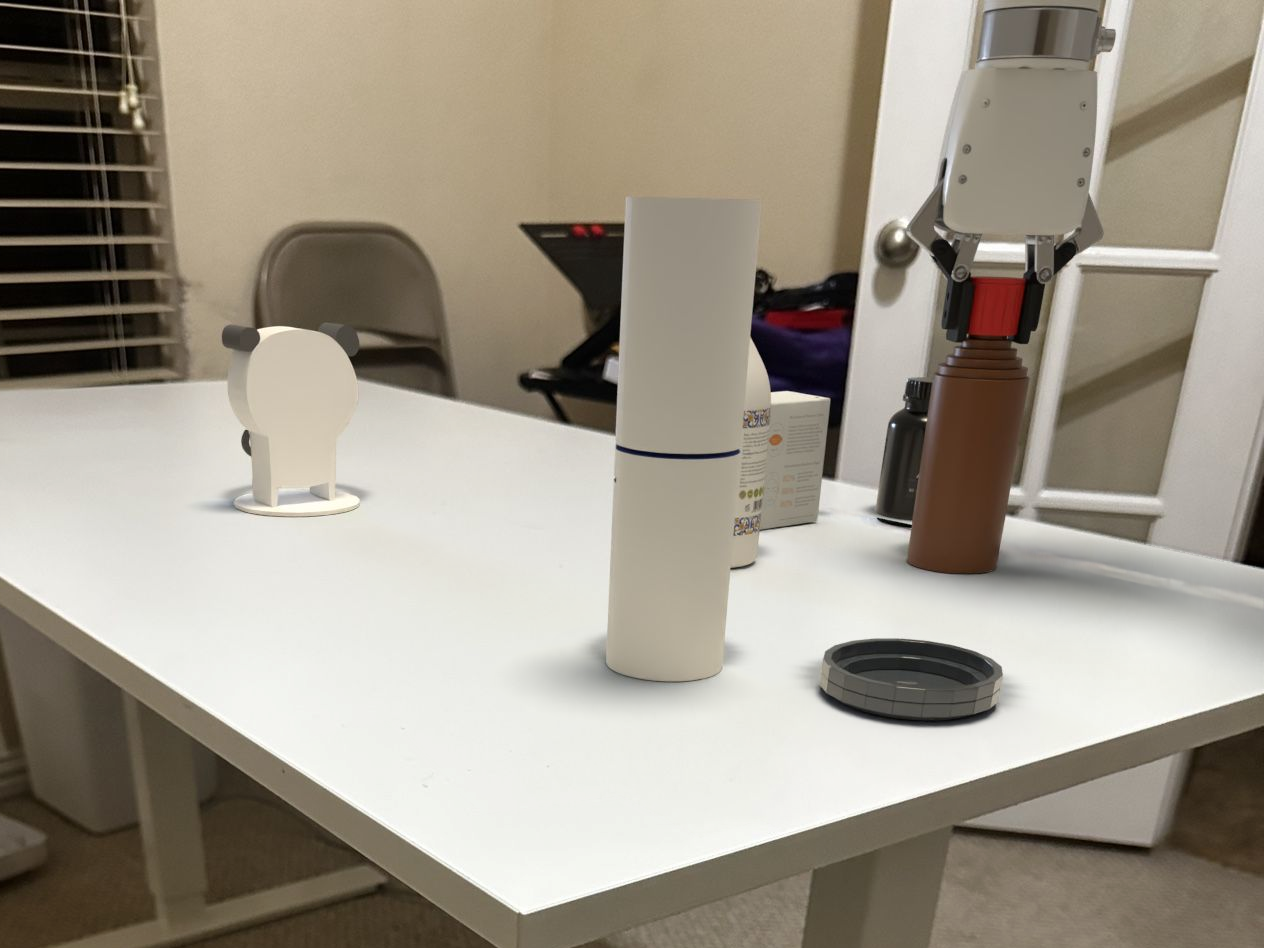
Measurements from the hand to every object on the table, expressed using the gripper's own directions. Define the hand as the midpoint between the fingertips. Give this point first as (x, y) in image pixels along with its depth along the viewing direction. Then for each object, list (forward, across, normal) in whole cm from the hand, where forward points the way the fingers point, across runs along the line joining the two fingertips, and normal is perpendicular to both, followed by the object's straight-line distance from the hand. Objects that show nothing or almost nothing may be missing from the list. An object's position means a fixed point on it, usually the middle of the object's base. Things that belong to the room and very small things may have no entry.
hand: (986, 338), depth 102 cm
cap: (0, 0, 0) cm, 0 cm away
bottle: (+16, 0, 0) cm, 16 cm away
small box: (+17, +13, -15) cm, 26 cm away
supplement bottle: (+17, -1, -16) cm, 23 cm away
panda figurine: (+17, +55, -19) cm, 61 cm away
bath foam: (+17, +19, 0) cm, 25 cm away
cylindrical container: (+17, +25, +29) cm, 42 cm away
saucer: (+16, +12, +34) cm, 40 cm away
